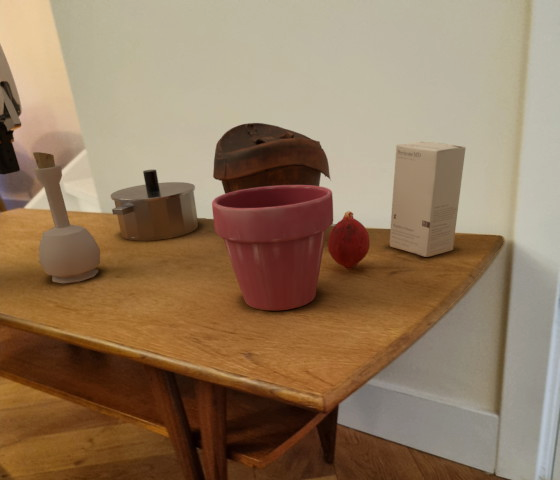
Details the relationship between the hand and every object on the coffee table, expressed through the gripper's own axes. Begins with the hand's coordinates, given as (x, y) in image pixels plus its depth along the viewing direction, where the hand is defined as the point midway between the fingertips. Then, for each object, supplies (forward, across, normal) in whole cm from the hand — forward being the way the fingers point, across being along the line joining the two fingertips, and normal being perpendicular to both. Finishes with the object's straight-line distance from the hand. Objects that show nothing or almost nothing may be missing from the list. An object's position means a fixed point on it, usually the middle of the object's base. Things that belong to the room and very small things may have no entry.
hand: (8, 172), depth 82 cm
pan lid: (+8, +4, +26) cm, 27 cm away
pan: (+15, +4, +26) cm, 30 cm away
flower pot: (+16, +44, +2) cm, 47 cm away
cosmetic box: (+16, +55, +27) cm, 63 cm away
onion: (+16, +48, +15) cm, 53 cm away
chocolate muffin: (+16, +30, +26) cm, 43 cm away
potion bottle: (+15, +9, 0) cm, 18 cm away
